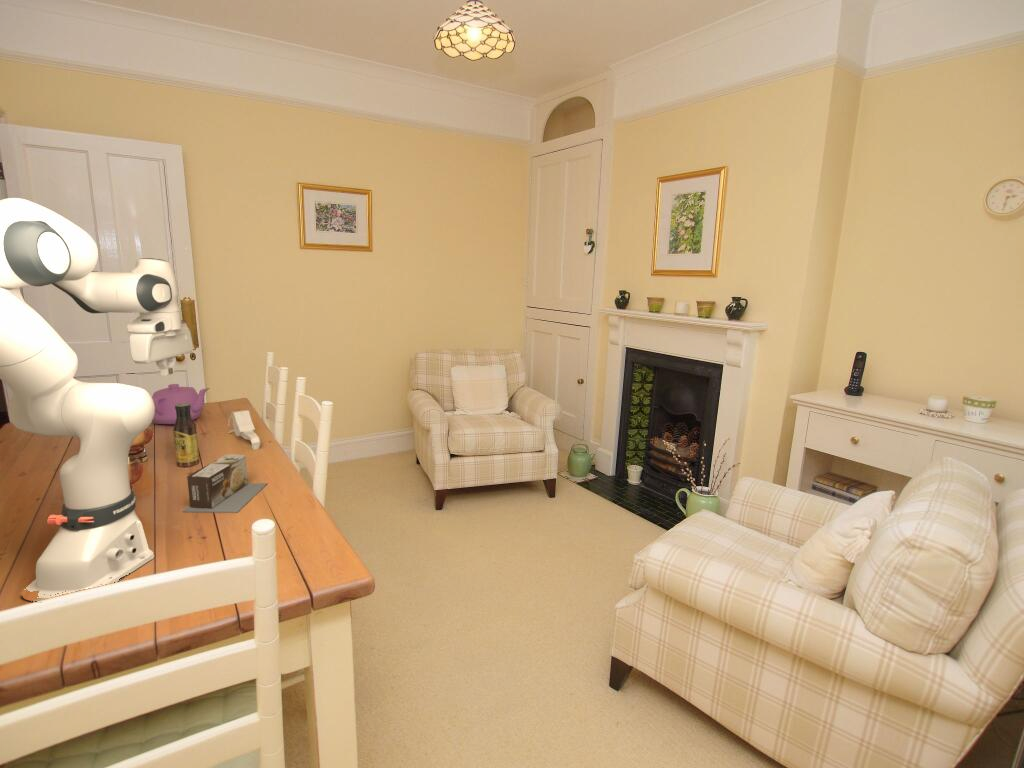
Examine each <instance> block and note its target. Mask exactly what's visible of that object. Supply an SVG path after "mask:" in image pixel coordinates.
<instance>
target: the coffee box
mask: <svg viewBox="0 0 1024 768" xmlns="http://www.w3.org/2000/svg"><path fill="white" fill-rule="evenodd" d="M186 481H187V488H188V497H189V506H190V507H193V508H213V507H215V506H216V505H218V504H219V503H221V502H222V501H224V500H225V499H227V498H228V497H229V496H231V495H232V494H234V493H235V492H237V491H238V490H240V489H241V488H243V487H244V486H246V485H247V484H248V483H249V482H248V469H247V455H244V454H231V453H230V454H228V453H226V454H224V455H223V456H221V457H220V458H217V459H216V460H214V461H212V462H210V463H209V464H207V465H205V466H203V467H201V468H199V469H197V470H196V471H194V472H191V473H190V474H188V475H187V476H186Z"/></svg>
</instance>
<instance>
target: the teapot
mask: <svg viewBox="0 0 1024 768" xmlns="http://www.w3.org/2000/svg"><path fill="white" fill-rule="evenodd" d="M208 390H210V387H206V388H202V389H200V390H199V392H197V390H196V389H195V388H194V387H192V386H180V384H178V383H170V384H167V387H165V388H162V389H159V390H156V391H155V392H153V394H152V395H151V397H152V399H153V401H154V405H155V414H154V418H153V420H152V422H151V423H153V424H158V425H175V422H176V419H177V418H176V417H177V414H176V410H175V405H176V404H179V403H189V404H190V406H191V408H190V415H191V419H192V420H193V421H194V420H196V419H199V418H200V417H201V416H202V414H203V412H204V406H205V395H206V392H207V391H208Z"/></svg>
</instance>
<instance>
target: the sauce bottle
mask: <svg viewBox="0 0 1024 768" xmlns="http://www.w3.org/2000/svg"><path fill="white" fill-rule="evenodd" d="M190 408H191V406H190V404H189V403H179V404H176V405H175V410H176V414H177V417H176V418H177V419H176V422H175V424H174V427H173V430H172V432H173V444H174V453H175V461H176V464H177V467H183V468H188V467H193V466H195V465H197V464H199V462H200V456H199V444H198V443H199V442H198V441H199V440H198V432H197V424H196V422H195V421H194V420H192V419H191V415H190Z"/></svg>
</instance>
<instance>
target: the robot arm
mask: <svg viewBox="0 0 1024 768" xmlns="http://www.w3.org/2000/svg"><path fill="white" fill-rule="evenodd" d="M98 261H99V250H98V245H97V243H96V242H95V240H94V238H93V237H92V236H91V235H90V234H89V233H88V232H87V231H85V230H84V229H83V228H82V227H80V226H79V225H77V224H75V223H74V222H72V220H71V221H70V220H69V219H67V218H66V217H64V216H62V215H60V214H58V213H57V212H55V211H54V210H51V209H49V208H47V207H45V206H42V205H41V204H38V203H35V202H32V201H30V200H28V199H24V198H21V197H20V198H19V197H9V198H7V197H6V198H3V199H0V380H1V381H2V382H3V383H4V384H6V386H7V387H8V388H9V389H10V390H11V391H12V393H13V395H12V397H11V398H10V399H9V402H8V407H7V413H8V416H9V417H8V418H9V419H10V421H11V423H12V425H13V426H14V427H15V428H17V429H18V430H19V431H22V432H26V433H31V434H34V435H39V436H43V437H73V438H77V437H78V439H79V442H80V445H79V451H78V453H76V454H75V455H73V456H71V457H69V458H68V459H67V460H66V461H65V462H64V463H63V464H62V466H60V470H59V473H58V476H59V480H60V485H61V486H60V487H61V492H62V497H63V504H62V507H61V512H60V514H59V515H58V514H50V515H49V516H48V517H47V518H48V519H47V520H46V523H47V525H49V526H55V525H57V526H60V527H59V529H58V530H57V532H56V533H55V535H54V536H53V537H52V539H51V540H50V542H49V543H48V545H47V546H46V548H45V549H44V551H43V552H42V553H41V555H40V556H39V558H38V559H37V561H36V564H35V579H34V580H32V581H31V583H30V584H29V585H27V586H26V587H25V588H26V589H27V590H28V591H30V592H33V591H39V593H38V596H39V597H37V598H41V599H37V600H34V601H33V602H34V603H36V602H35V601H40V600H43V599H47V598H51V597H55V596H59V595H62V594H66V593H71V592H75V591H79V590H83V589H88V588H93V587H97V586H102V585H105V584H110V583H114V582H116V583H117V582H119V581H120V580H121V579H120V578H121V577H123V576H125V575H127V576H129V573H130V574H131V573H133V572H134V571H136V570H138V569H140V567H142V566H144V565H146V564H147V563H148V562H150V561H151V560H153V559H154V558H155V553H154V551H153V550H151V549H150V548H149V543H148V540H147V536H146V533H145V531H144V526H143V523H142V521H141V520H140V518H139V517H138V515H137V513H136V511H135V508H136V506H137V505H136V496H135V494H134V490H132V489H131V484H130V474H129V473H130V472H129V454H130V450H131V447H132V446H133V445H132V444H133V443H134V441H135V440H136V438H137V437H138V436H139V435H140V434H142V433H143V432H144V431H146V429H147V428H149V427H150V425H151V424H152V423H153V422H152V420H153V418H154V414H155V405H154V401H153V399H152V395H151V394H150V393H149V392H148V391H147V390H146V389H144V388H142V387H138V386H135V385H130V384H124V383H120V382H119V383H118V382H86V381H80V380H77V379H75V376H76V373H77V371H78V367H79V366H78V365H79V360H78V359H79V358H78V356H77V354H76V352H75V351H74V350H73V349H72V348H71V347H70V345H69V344H68V343H67V342H66V341H65V340H64V339H63V338H62V337H61V336H60V334H59V333H58V332H57V331H56V330H55V329H54V328H53V327H52V326H51V324H49V322H47V320H46V319H45V318H43V316H42V315H40V314H39V313H38V312H37V311H36V310H35V309H34V308H33V307H31V306H30V305H29V304H28V303H27V302H25V300H24V298H23V295H22V293H21V290H20V288H25V287H26V288H28V287H45V286H49V285H53V287H56V288H57V289H59V290H60V291H62V292H64V293H65V294H66V295H68V296H69V297H70V298H71V299H72V300H73V301H74V302H75V303H76V304H77V305H78V307H80V308H81V309H82V310H84V312H87V313H90V314H107V313H116V314H117V313H119V314H120V313H121V314H122V313H123V314H124V313H125V314H127V313H128V314H129V313H132V314H133V313H135V314H136V313H137V314H138V313H139V316H137V317H136V318H135V319H134V320H132V321H131V322H129V323H128V324H127V325H126V330H127V332H128V333H129V334H130V335H129V341H128V343H129V349H130V356H131V358H132V360H133V362H134V363H135V364H141V365H142V364H145V365H146V364H147V365H148V364H152V363H155V364H156V366H158V368H159V370H160V371H159V372H160V376H162V377H164V376H165V377H166V376H170V375H173V374H175V364H176V362H177V358H176V357H178V356H182V355H185V354H190V353H192V352H193V349H194V342H193V338H192V333H191V330H190V328H189V327H188V324H187V323H186V322H185V321H184V320H183V319H182V316H181V315H182V314H181V310H180V306H179V303H178V298H179V291H178V283H177V278H176V273H175V271H174V267H173V265H172V263H170V262H169V261H168V260H164V259H161V258H153V257H152V258H151V257H145V258H144V257H143V258H141V257H140V258H139V259H137V260H136V262H135V268H134V269H132V270H129V272H128V271H127V272H126V271H97V270H94V269H95V267H96V266H97V263H98ZM125 577H126V576H125ZM119 579H120V580H119ZM114 584H115V583H114ZM25 588H24V589H23V590H26V589H25ZM65 591H66V592H65ZM62 592H63V593H62ZM57 593H59V594H57ZM44 594H45V595H44ZM55 594H56V595H55ZM50 595H51V596H50Z"/></svg>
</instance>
